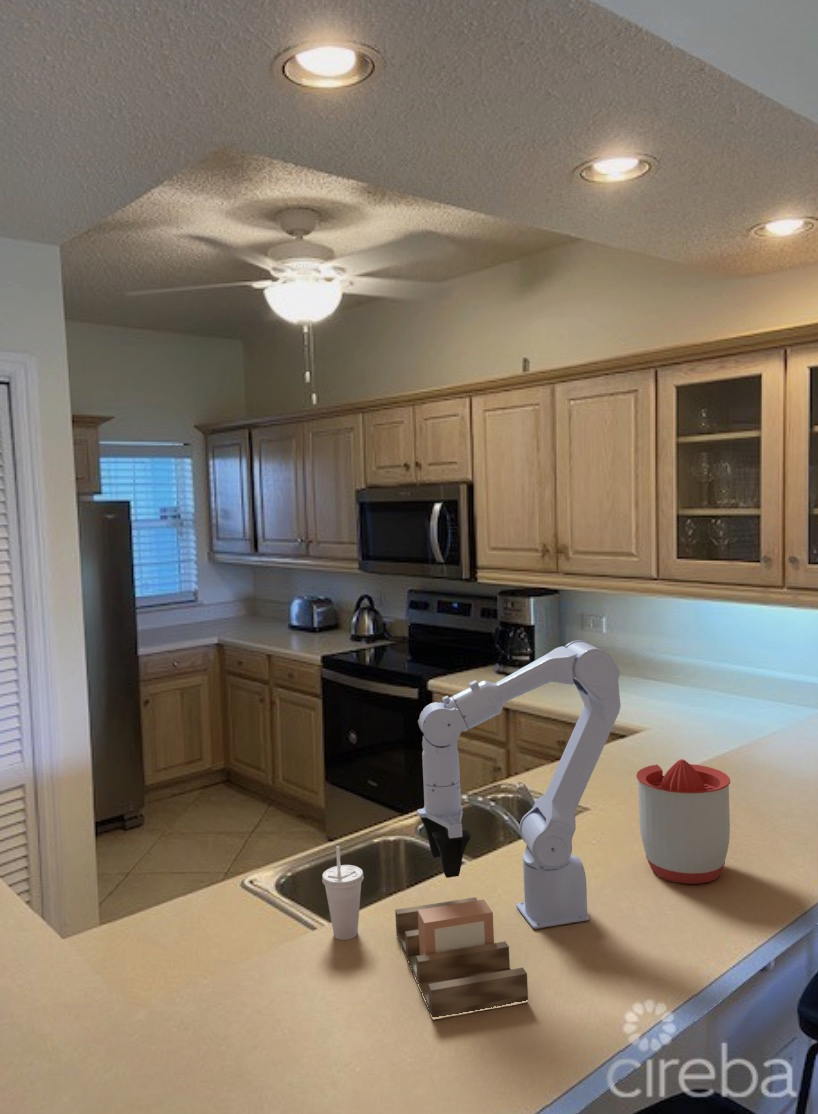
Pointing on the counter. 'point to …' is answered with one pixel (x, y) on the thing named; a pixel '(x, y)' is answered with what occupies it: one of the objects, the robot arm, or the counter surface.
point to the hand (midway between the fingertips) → (445, 865)
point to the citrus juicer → (684, 821)
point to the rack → (460, 970)
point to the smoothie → (343, 897)
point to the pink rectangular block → (455, 927)
